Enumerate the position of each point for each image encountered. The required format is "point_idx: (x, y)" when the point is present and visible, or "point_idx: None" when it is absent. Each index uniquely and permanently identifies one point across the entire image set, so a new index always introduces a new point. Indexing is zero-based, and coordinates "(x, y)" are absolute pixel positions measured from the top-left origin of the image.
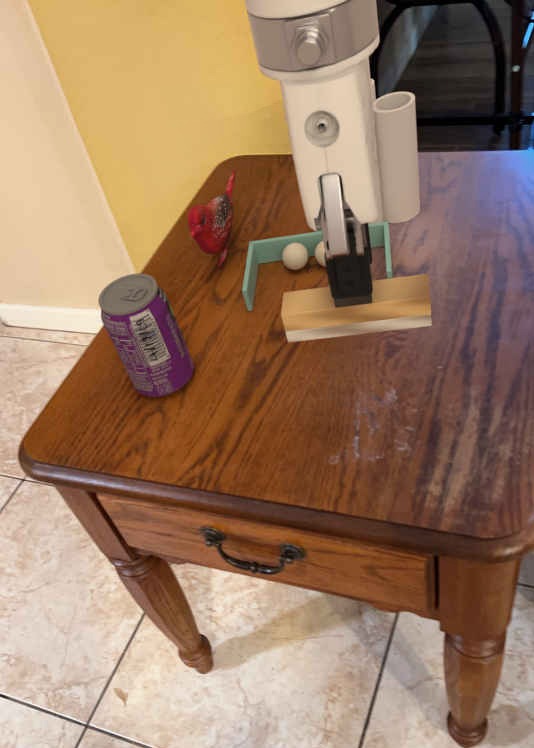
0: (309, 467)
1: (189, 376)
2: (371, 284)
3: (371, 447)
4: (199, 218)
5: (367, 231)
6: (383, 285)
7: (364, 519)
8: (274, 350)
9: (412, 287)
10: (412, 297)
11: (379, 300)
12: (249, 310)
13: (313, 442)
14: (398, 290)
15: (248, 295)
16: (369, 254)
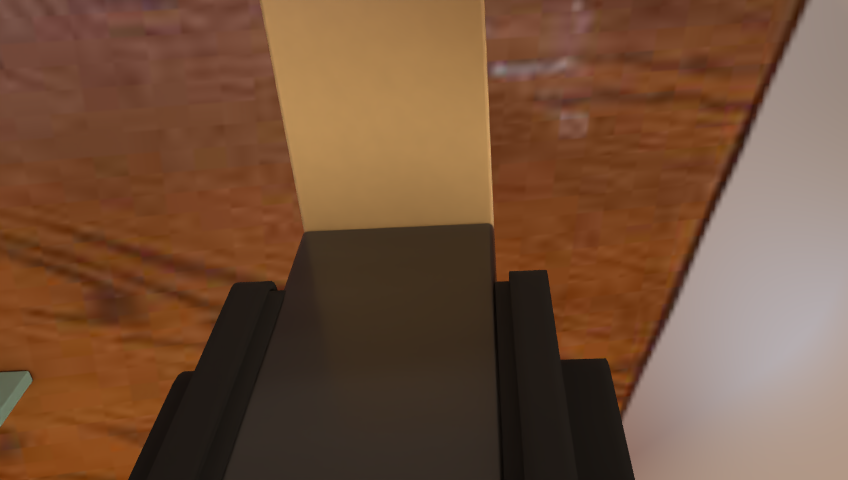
0: (592, 181)
1: None
2: (550, 301)
3: (538, 25)
4: None
5: (214, 438)
6: (349, 176)
7: (793, 28)
8: (172, 304)
9: (377, 21)
10: (473, 19)
11: (476, 191)
12: (30, 377)
13: (507, 179)
14: (400, 99)
15: (2, 404)
16: (269, 328)
